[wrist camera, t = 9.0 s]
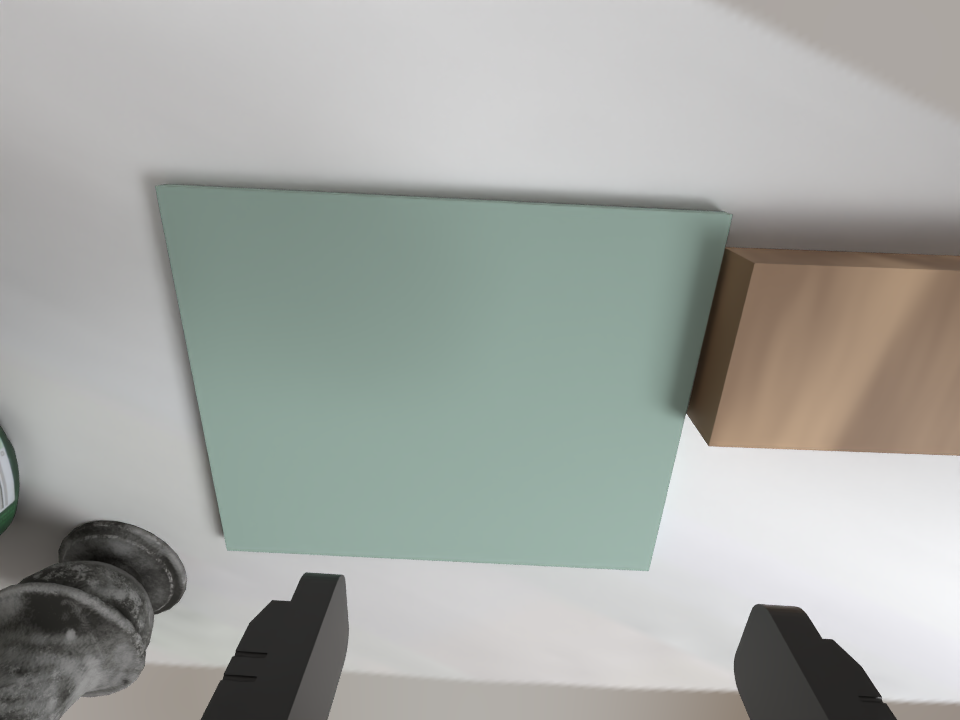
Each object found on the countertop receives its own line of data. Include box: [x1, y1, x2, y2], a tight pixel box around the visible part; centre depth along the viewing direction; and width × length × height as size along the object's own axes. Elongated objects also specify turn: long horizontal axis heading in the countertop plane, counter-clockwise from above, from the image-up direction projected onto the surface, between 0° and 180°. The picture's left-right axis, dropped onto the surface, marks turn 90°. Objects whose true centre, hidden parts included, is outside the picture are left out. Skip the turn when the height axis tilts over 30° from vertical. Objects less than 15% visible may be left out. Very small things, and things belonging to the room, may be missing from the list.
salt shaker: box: [0, 521, 187, 720], centre depth 17 cm, size 6×6×12 cm
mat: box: [155, 184, 733, 571], centre depth 18 cm, size 17×14×1 cm
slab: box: [687, 247, 960, 456], centre depth 17 cm, size 2×6×9 cm
